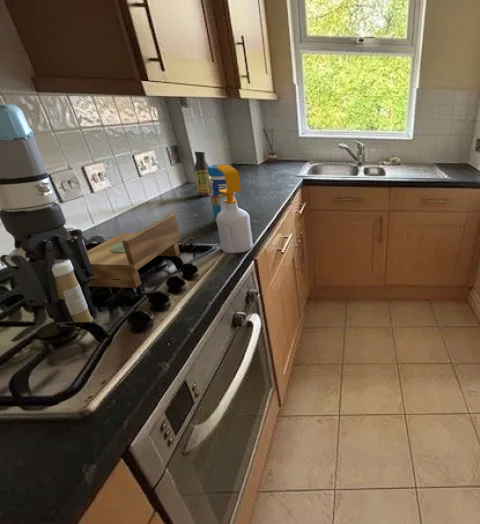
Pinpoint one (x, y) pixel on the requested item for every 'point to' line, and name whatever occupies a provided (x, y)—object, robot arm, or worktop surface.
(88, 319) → the sprinkles bottle
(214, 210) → the blue canister
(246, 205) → the worktop surface
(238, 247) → the soap bottle
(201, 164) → the sauce bottle
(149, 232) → the shelf
